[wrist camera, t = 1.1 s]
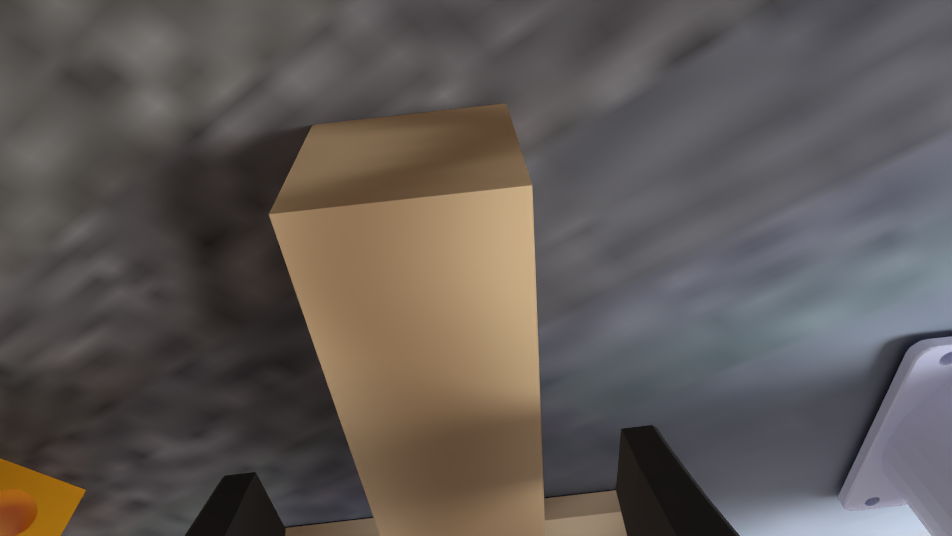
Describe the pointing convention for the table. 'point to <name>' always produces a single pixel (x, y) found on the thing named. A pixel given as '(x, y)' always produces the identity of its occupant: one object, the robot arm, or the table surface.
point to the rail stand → (566, 518)
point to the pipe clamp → (34, 502)
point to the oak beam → (424, 313)
